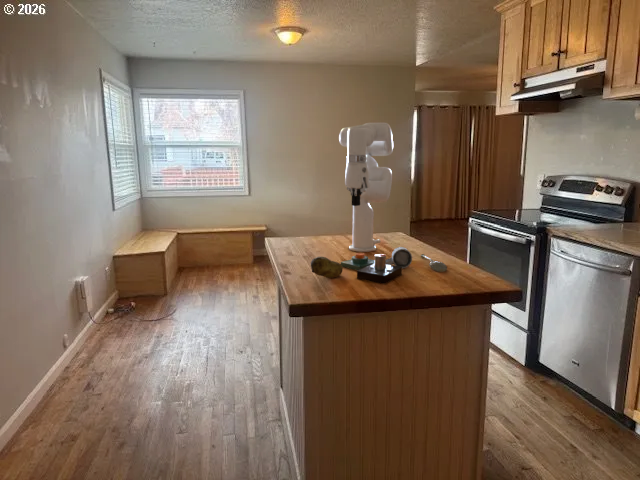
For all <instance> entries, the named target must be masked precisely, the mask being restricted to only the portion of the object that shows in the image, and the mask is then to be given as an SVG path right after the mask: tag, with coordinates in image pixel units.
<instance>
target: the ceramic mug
mask: <svg viewBox="0 0 640 480" xmlns="http://www.w3.org/2000/svg"><path fill="white" fill-rule="evenodd" d="M412 262H413V255H412V252H410V250H409V249H407V248H406V247H404V246H399V247H395V248H394V249H393V251H392V253H391V257H389V258H386V265H392V266H398V267H402V269H407V268H409V266H411V264H412Z"/></svg>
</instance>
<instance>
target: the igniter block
mask: <svg viewBox="0 0 640 480" xmlns="http://www.w3.org/2000/svg"><path fill="white" fill-rule="evenodd" d="M355 257H356V255H352V256H351V259H347V260H342V261H340V264H341V265H342V267H343V268H347V269H350V270H354V271H358V270H360V269H363V268H365V267H367V266H369V265H372V264H374V263H375V259H371V258H369V256H367V255H365V258H363V259H358V258H355Z"/></svg>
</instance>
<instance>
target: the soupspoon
mask: <svg viewBox="0 0 640 480" xmlns="http://www.w3.org/2000/svg"><path fill="white" fill-rule="evenodd" d="M420 258H422V259H424V258H425V259H427V260H429V261H430V263H428V266H429V267H430V269H432V270H433V271H436V272H438V273H439V272H440V273H441V272H442V273H443V272H446V271H447V270H448V266H447V264H445V263H443V261H437V260H435V261H434V260H433V259H432V258H431V257H429V256H426V255H425V253H422V254H420Z"/></svg>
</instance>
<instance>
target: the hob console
mask: <svg viewBox="0 0 640 480" xmlns="http://www.w3.org/2000/svg"><path fill="white" fill-rule="evenodd" d="M374 264H375V263H374ZM374 264H372V265H369V266H367V267H365V268H363V269H360V270H356V279H357V280H361V281H367V282H372V283H377V284H381V285H387V284H388V283H390V282H392V281H393V280H396V279H397V278H399V277H400V276H402V275H403V268H402V267H398V266H395V265H393V264H392V265H386V269H385V270H376V269H374Z"/></svg>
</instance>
